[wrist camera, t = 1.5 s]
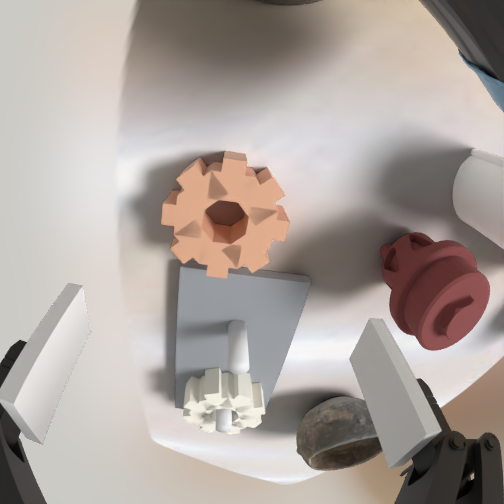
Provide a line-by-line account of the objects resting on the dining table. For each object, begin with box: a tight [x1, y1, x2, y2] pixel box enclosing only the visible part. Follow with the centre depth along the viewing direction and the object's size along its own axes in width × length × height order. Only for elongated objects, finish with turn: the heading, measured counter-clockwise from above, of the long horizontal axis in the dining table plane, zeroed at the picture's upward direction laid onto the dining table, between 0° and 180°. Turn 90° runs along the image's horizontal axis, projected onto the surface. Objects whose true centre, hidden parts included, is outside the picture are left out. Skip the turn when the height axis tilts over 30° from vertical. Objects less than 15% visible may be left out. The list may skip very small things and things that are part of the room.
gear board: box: [175, 260, 311, 432], centre depth 32 cm, size 24×13×8 cm, turn 170°
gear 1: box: [161, 151, 290, 279], centre depth 26 cm, size 10×10×4 cm
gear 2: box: [183, 368, 265, 435], centre depth 35 cm, size 10×10×4 cm
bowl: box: [296, 396, 383, 471], centre depth 39 cm, size 14×15×10 cm
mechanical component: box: [380, 232, 490, 351], centre depth 26 cm, size 12×10×10 cm
